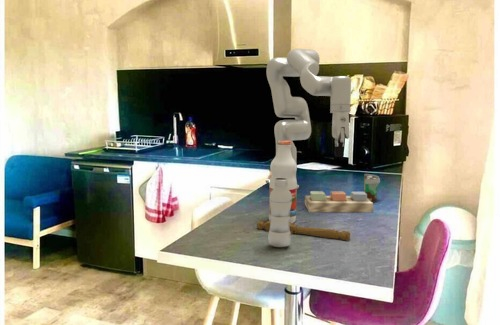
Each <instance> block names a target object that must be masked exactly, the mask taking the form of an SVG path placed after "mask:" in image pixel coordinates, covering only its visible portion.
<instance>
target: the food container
mask: <svg viewBox="0 0 500 325" xmlns="http://www.w3.org/2000/svg"><path fill="white" fill-rule="evenodd" d="M363 180H364V181H363V192H365V193H366V194H367V198H368V199H369V200H370V201H371V202H372V203H375V202H377V197H378V191H379V184H380V183H381V179H380V176H378V175H376V174H369V173H364V178H363Z"/></svg>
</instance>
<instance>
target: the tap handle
mask: <svg viewBox="0 0 500 325" xmlns="http://www.w3.org/2000/svg"><path fill="white" fill-rule="evenodd" d="M270 222H271V220H267V221H266V222H264V221H263V220H258V221H257V224H256V227H257V228H258V230H265V232H269V230H270ZM290 233H291V235H292V234H295V235H297V234H301V235H307V236H313V237H319V238H325V239H333V240H334V239H335V240H339V239H340V240H342V241H350V239H351V231H346V230H342V231H339V230H338V229H330V228H319V227H309V226H308V227H307V226H306V227H305V226H299V225H298V224H297V225H295V224H294V223H290Z"/></svg>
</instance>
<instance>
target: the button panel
mask: <svg viewBox="0 0 500 325" xmlns="http://www.w3.org/2000/svg"><path fill="white" fill-rule="evenodd" d="M330 197H331V195H325V201H311V200H310V195H304V206H306V209H307V211H308V212H309V213H370V214H371V213H374V202H371V201H370V200H369V199H368V198H367V201H352V200H351V195H346V201H332V200H331V199H330Z"/></svg>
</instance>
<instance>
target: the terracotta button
mask: <svg viewBox="0 0 500 325" xmlns="http://www.w3.org/2000/svg"><path fill="white" fill-rule="evenodd" d="M330 196H331V197H330V199H331V200H332V201H346V196H347V194H346V192H344V191H337V190H335V191H330Z"/></svg>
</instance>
